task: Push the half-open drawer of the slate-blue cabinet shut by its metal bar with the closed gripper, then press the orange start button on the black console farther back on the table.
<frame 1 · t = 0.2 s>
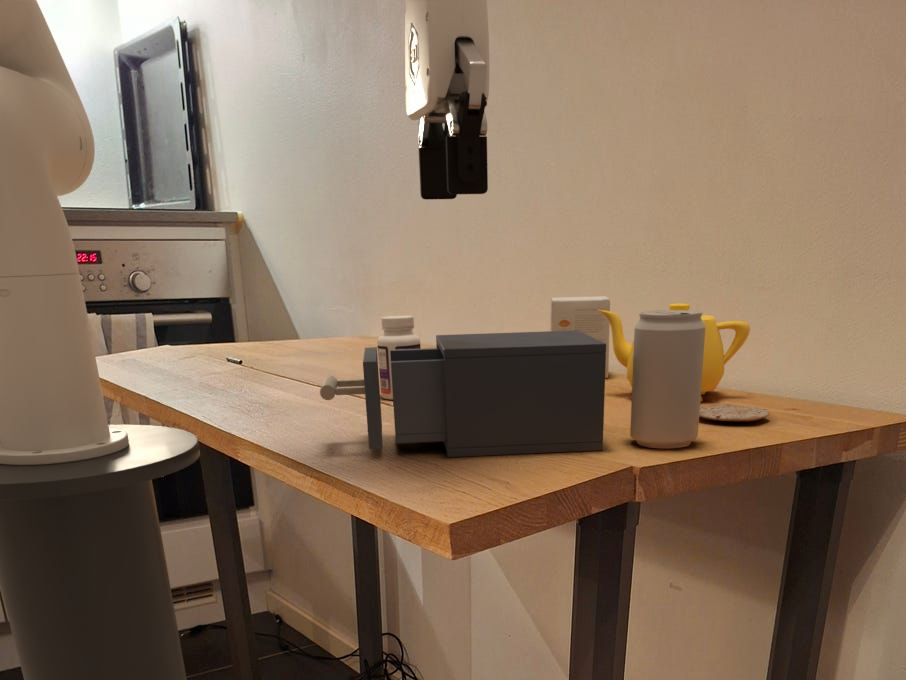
hand: (452, 196, 76), 22 cm above the table, tool pointing down, fingers open, 9 cm apart
teapot: (667, 397, 112), on the table
drawer: (415, 394, 87), point 5 cm above the table, slide at 6.0 cm
cabinet: (516, 440, 90), on the table
beverage can: (662, 445, 87), on the table
small box: (578, 377, 129), on the table
flatbread: (731, 419, 97), on the table
pill bottle: (402, 398, 116), on the table
start button: (480, 366, 107), point 4 cm above the table, slide at 0.1 cm
console: (481, 404, 109), on the table
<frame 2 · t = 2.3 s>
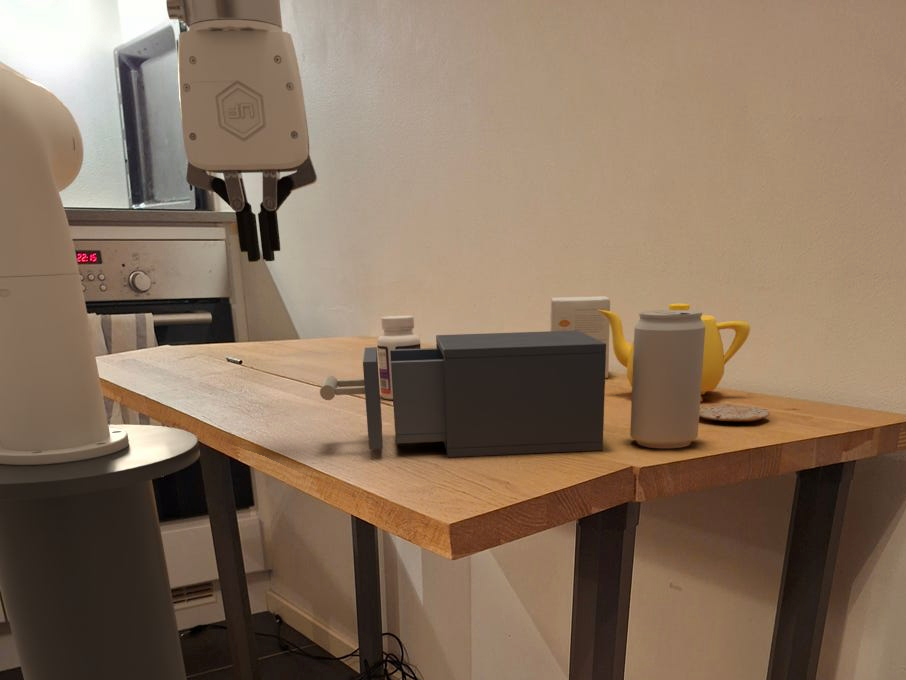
hand: (261, 260, 81), 17 cm above the table, tool pointing down, fingers closed
nothing on the table moved.
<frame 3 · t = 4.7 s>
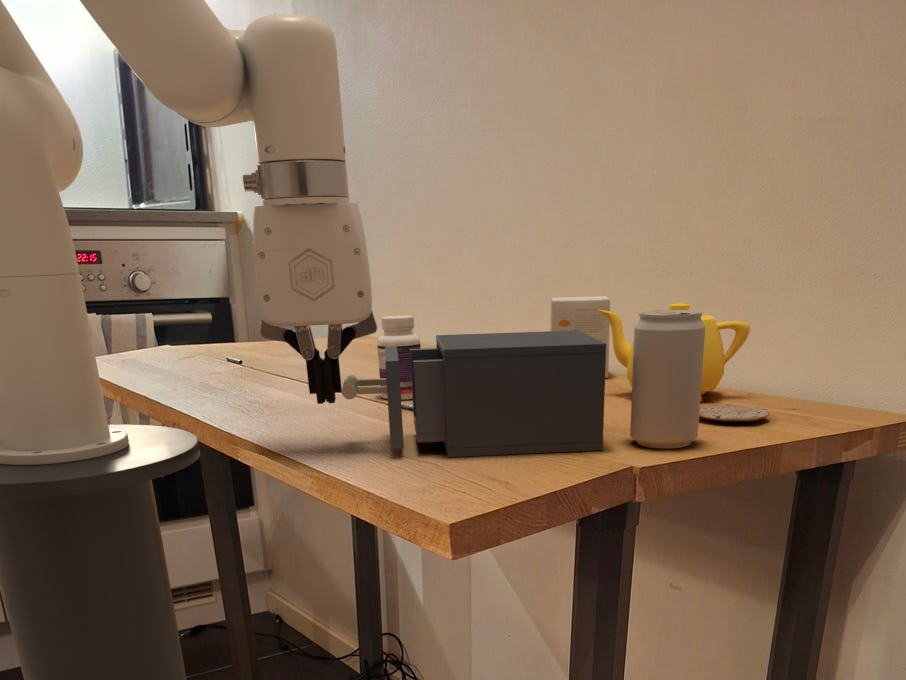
hand: (326, 400, 86), 5 cm above the table, tool pointing down, fingers closed
drawer: (435, 393, 87), point 5 cm above the table, slide at 4.0 cm, touching gripper
everything else where it was.
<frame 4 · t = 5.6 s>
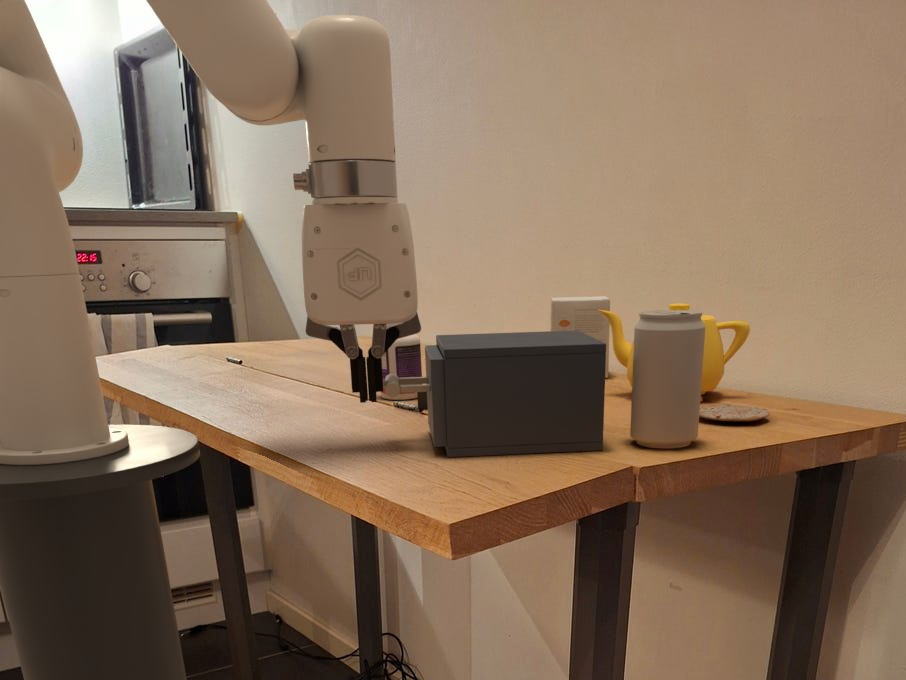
hand: (368, 399, 87), 4 cm above the table, tool pointing down, fingers closed
drawer: (477, 392, 88), point 5 cm above the table, slide at 0.0 cm, touching cabinet, gripper
everything else where it was.
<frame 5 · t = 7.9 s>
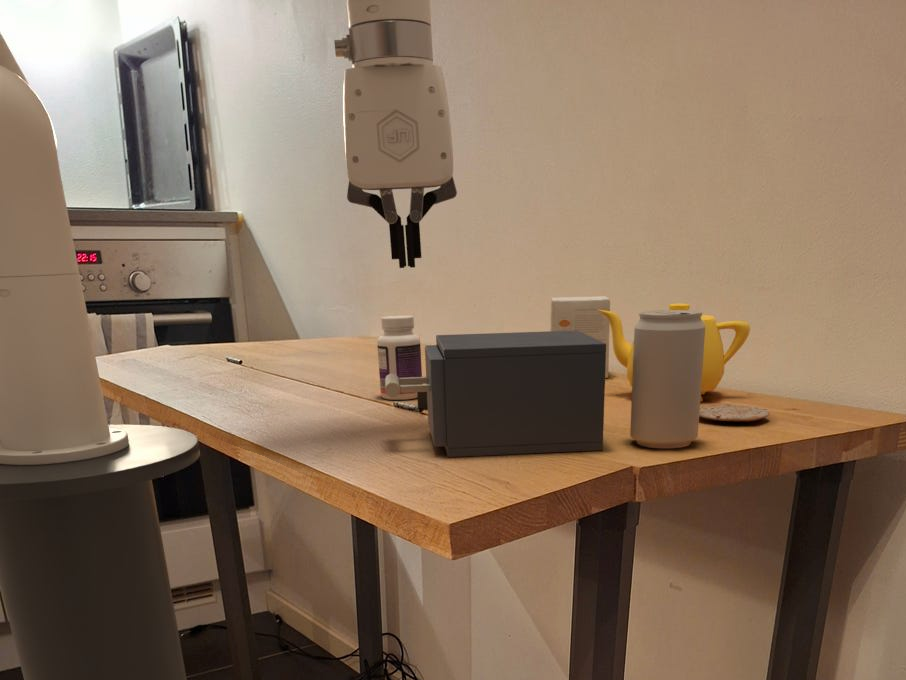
hand: (407, 266, 91), 16 cm above the table, tool pointing down, fingers closed
drawer: (477, 392, 88), point 5 cm above the table, slide at 0.0 cm, touching cabinet
everything else where it was.
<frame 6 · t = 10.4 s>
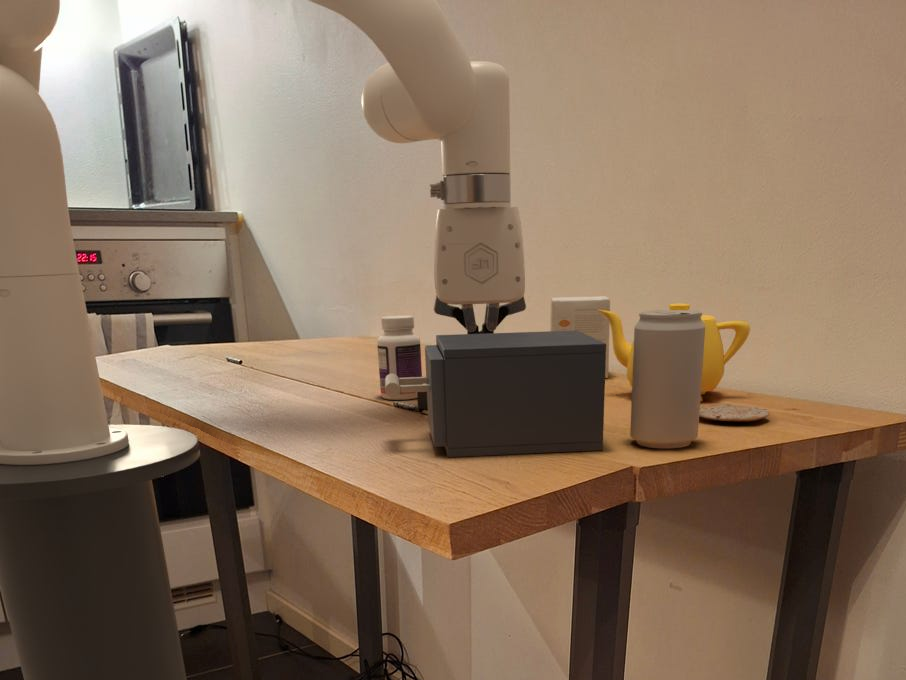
hand: (481, 365, 108), 5 cm above the table, tool pointing down, fingers closed
start button: (480, 373, 108), point 4 cm above the table, slide at -0.8 cm, touching gripper
everything else where it was.
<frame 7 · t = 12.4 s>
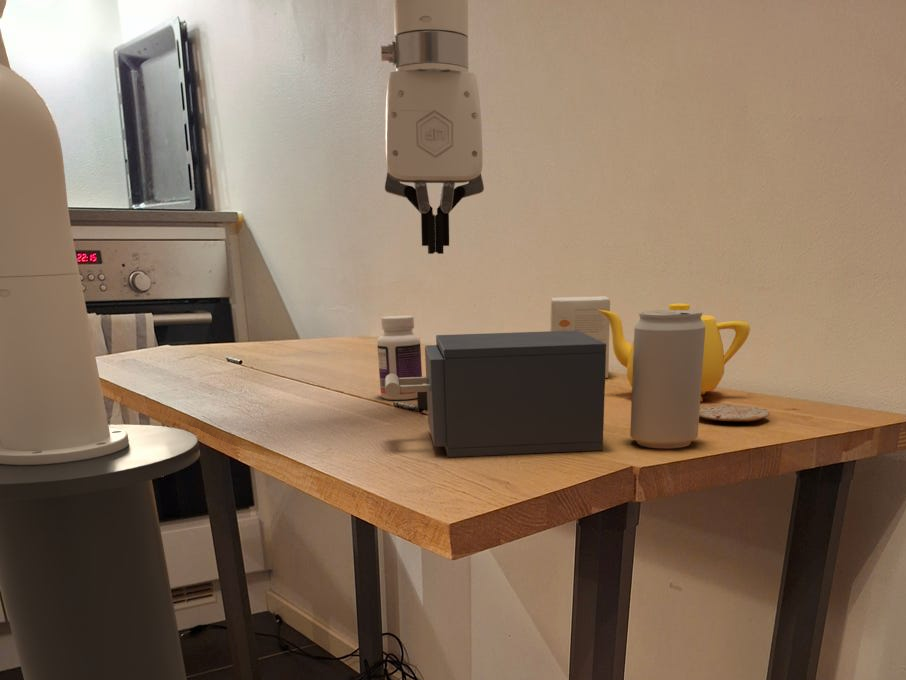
hand: (435, 253, 100), 17 cm above the table, tool pointing down, fingers closed
start button: (480, 366, 107), point 4 cm above the table, slide at 0.1 cm
everything else where it was.
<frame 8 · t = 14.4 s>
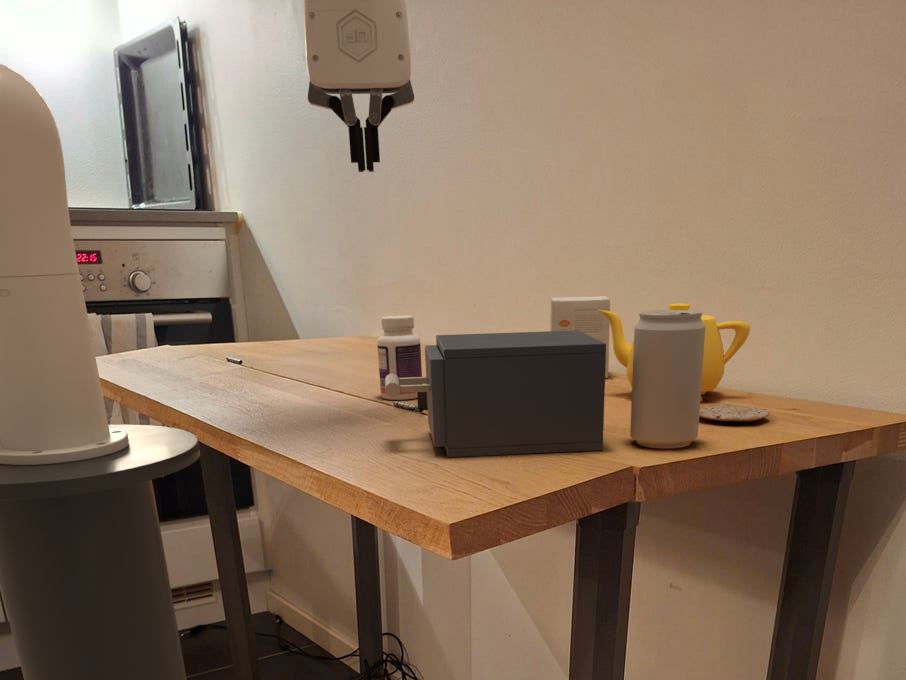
hand: (366, 170, 94), 25 cm above the table, tool pointing down, fingers closed
nothing on the table moved.
at the end: drawer slide at 0.0 cm; start button pushed in 1.1 cm at the most during the clip, back to where it started at the end; start button slide at 0.1 cm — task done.
